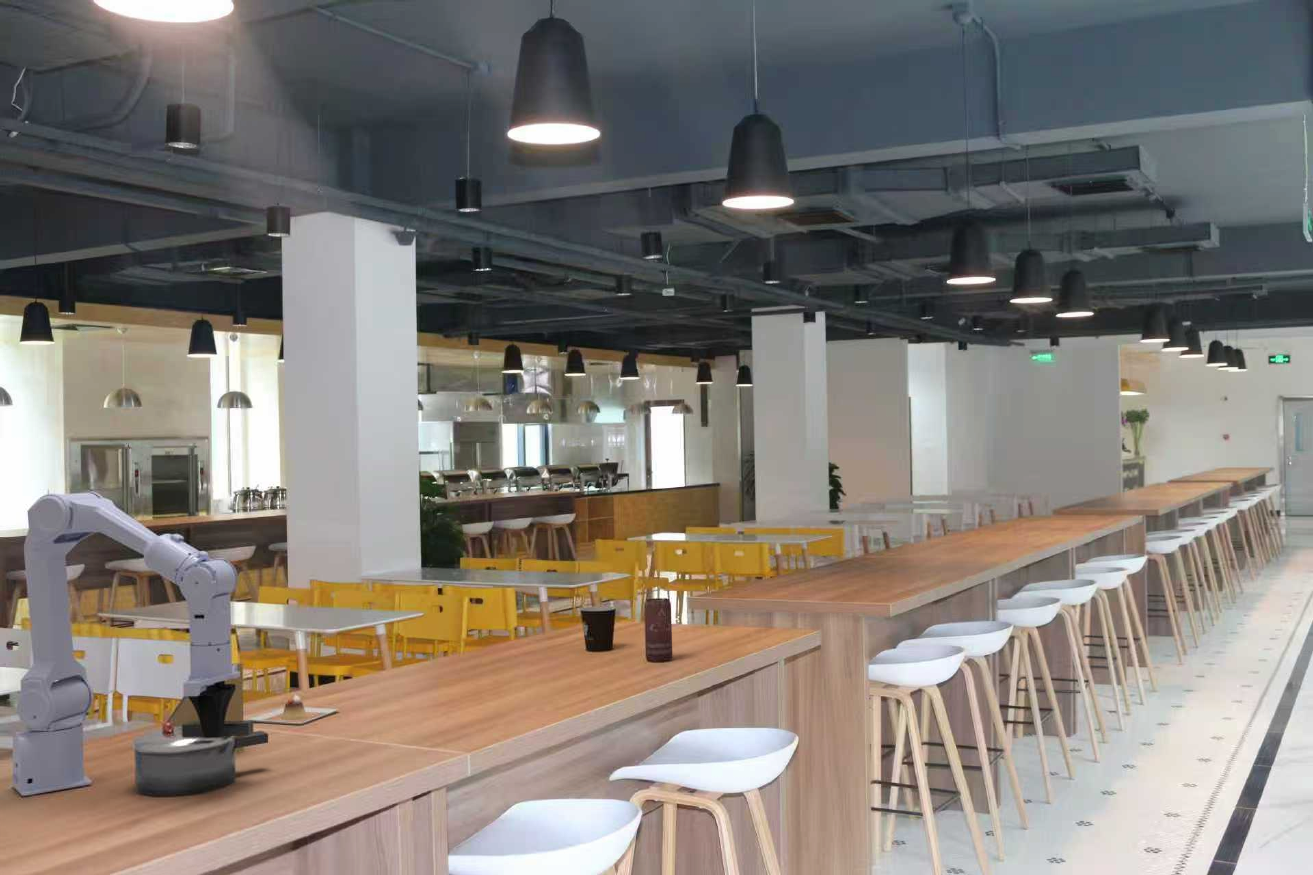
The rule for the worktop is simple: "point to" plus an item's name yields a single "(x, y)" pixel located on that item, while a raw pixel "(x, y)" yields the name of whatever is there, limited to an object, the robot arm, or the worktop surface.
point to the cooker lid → (188, 737)
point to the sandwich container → (234, 710)
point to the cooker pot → (190, 769)
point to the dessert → (293, 713)
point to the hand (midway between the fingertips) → (212, 736)
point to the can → (658, 630)
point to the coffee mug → (598, 628)
